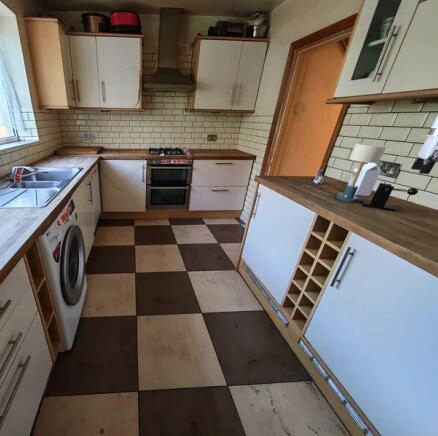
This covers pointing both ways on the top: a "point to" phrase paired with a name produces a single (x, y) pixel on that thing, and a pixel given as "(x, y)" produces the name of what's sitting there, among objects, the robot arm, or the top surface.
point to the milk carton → (367, 179)
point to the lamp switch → (410, 191)
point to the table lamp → (362, 154)
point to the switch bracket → (380, 198)
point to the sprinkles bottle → (353, 176)
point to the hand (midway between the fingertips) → (419, 171)
